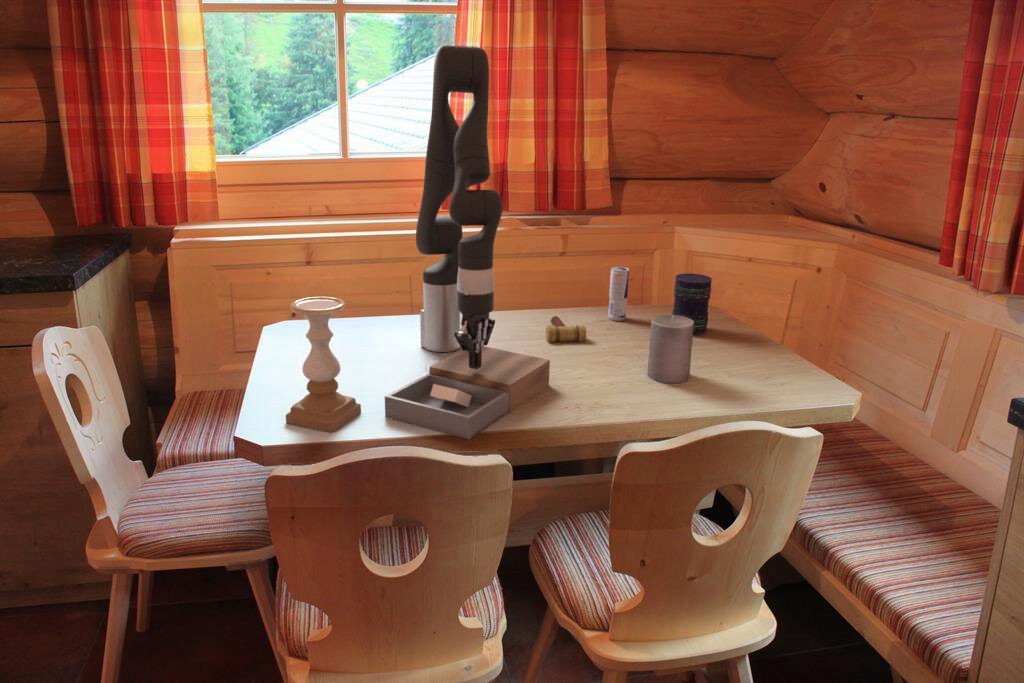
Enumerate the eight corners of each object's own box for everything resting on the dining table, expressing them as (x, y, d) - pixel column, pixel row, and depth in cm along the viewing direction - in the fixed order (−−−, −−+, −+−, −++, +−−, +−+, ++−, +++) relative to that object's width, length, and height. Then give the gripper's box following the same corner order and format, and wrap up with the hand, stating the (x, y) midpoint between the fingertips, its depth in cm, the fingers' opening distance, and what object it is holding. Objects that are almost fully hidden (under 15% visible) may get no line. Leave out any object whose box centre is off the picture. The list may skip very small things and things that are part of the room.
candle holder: (284, 423, 157) (276, 306, 150) (316, 403, 167) (310, 293, 159) (332, 433, 154) (326, 313, 146) (362, 412, 163) (357, 299, 156)
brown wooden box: (429, 392, 174) (429, 366, 172) (473, 368, 189) (473, 344, 187) (509, 412, 165) (510, 385, 163) (548, 385, 180) (549, 360, 178)
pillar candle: (663, 366, 193) (667, 306, 189) (697, 376, 187) (703, 315, 182) (638, 376, 187) (642, 314, 182) (673, 387, 180) (678, 324, 176)
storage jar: (710, 336, 217) (716, 282, 212) (674, 335, 217) (678, 281, 212) (702, 325, 226) (707, 273, 222) (667, 324, 226) (672, 273, 222)
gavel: (536, 310, 227) (570, 309, 228) (535, 326, 228) (570, 325, 229) (548, 327, 207) (586, 327, 208) (548, 344, 208) (586, 344, 209)
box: (385, 416, 161) (384, 396, 160) (428, 392, 174) (428, 373, 172) (469, 439, 152) (469, 418, 151) (508, 412, 165) (509, 392, 163)
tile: (447, 389, 168) (444, 401, 168) (433, 383, 163) (429, 395, 163) (471, 395, 166) (468, 407, 165) (458, 389, 160) (454, 401, 160)
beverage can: (628, 318, 231) (632, 267, 226) (621, 322, 227) (624, 271, 222) (612, 315, 234) (615, 265, 229) (604, 319, 230) (607, 268, 225)
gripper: (476, 279, 171) (476, 356, 176) (442, 292, 160) (442, 373, 165) (507, 284, 167) (505, 362, 173) (474, 297, 156) (473, 380, 162)
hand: (475, 367), depth 169 cm, fingers closed
